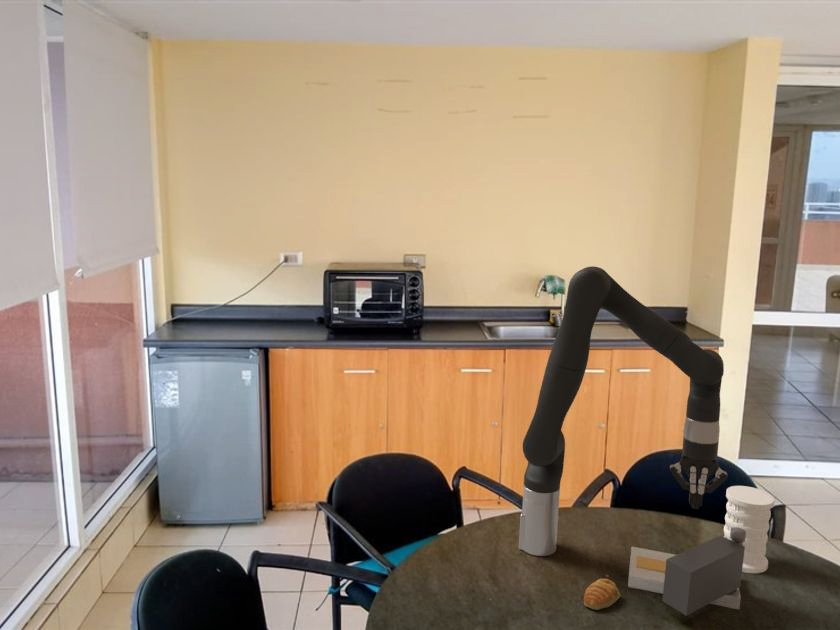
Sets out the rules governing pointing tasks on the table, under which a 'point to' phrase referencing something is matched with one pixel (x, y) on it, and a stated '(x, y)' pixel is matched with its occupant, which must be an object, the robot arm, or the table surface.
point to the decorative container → (750, 523)
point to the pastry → (601, 594)
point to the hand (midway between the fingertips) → (695, 506)
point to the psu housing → (651, 575)
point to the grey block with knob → (704, 572)
